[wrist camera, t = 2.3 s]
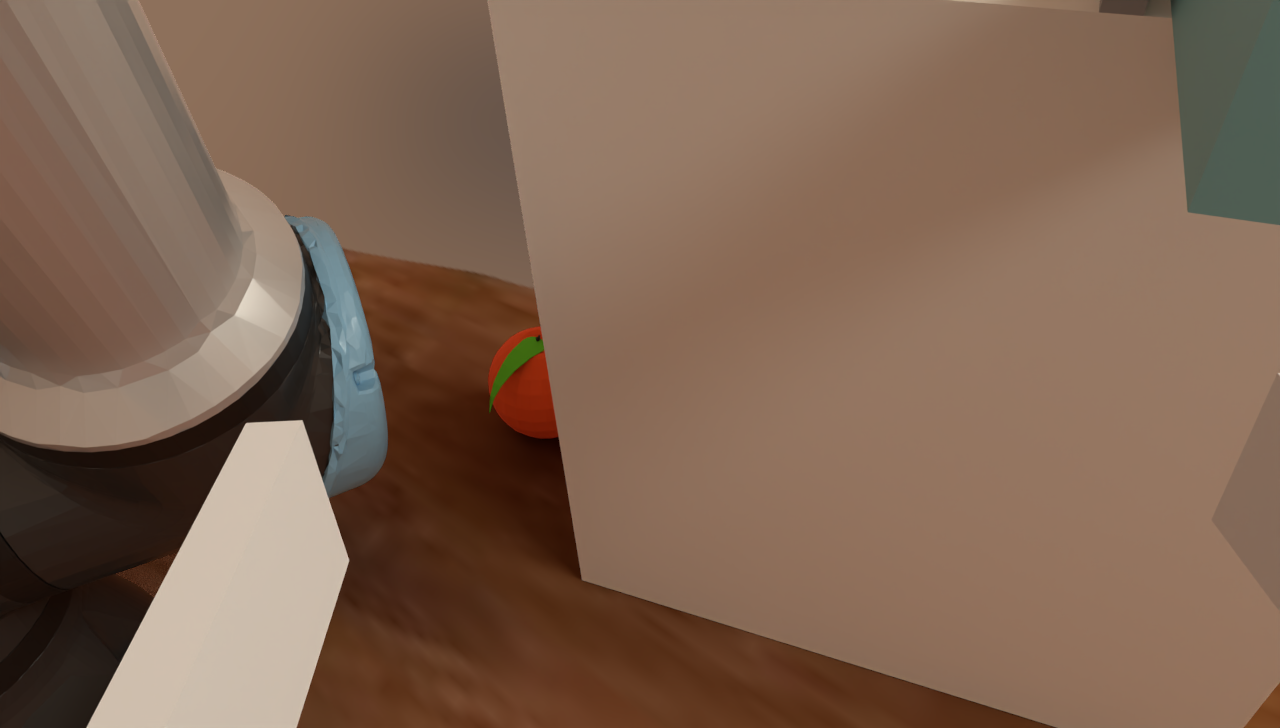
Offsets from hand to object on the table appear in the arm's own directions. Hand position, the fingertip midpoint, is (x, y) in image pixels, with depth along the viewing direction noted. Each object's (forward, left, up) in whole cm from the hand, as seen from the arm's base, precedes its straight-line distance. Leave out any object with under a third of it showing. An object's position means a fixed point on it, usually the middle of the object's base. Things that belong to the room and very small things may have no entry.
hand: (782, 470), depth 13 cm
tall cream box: (-3, +24, -31) cm, 40 cm away
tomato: (-25, +22, -31) cm, 46 cm away
